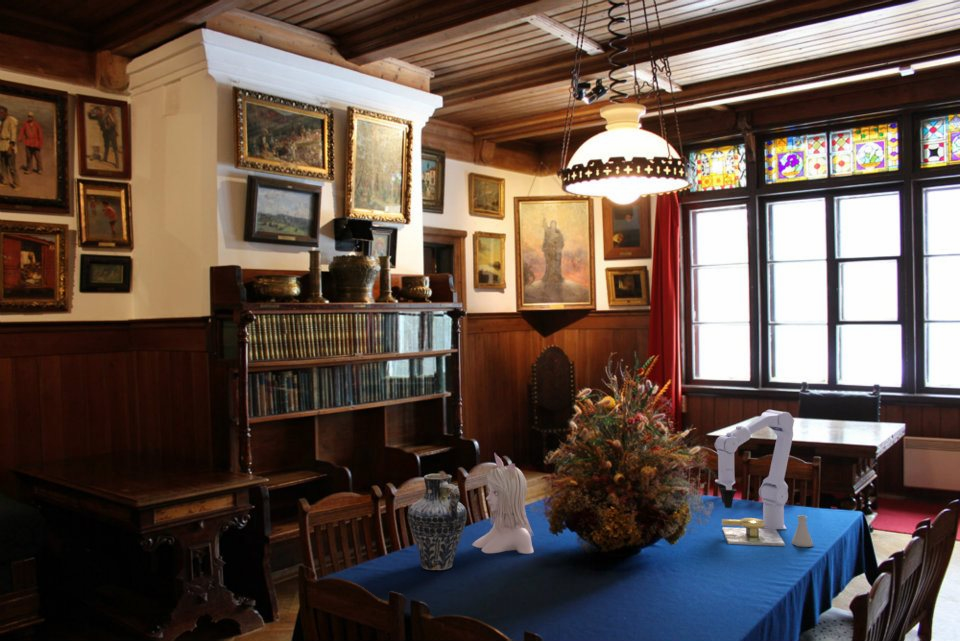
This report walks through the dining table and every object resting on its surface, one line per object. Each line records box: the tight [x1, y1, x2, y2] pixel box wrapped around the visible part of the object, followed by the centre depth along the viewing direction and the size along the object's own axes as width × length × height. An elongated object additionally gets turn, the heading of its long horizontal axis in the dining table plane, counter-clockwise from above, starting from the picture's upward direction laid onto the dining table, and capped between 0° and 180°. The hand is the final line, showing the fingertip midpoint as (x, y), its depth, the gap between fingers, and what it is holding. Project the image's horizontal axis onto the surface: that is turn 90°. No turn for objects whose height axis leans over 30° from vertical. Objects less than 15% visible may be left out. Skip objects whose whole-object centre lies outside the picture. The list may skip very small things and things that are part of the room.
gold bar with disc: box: [721, 517, 765, 537], centre depth 285 cm, size 15×8×5 cm, turn 79°
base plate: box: [722, 526, 786, 547], centre depth 284 cm, size 18×19×4 cm
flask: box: [791, 514, 814, 548], centre depth 275 cm, size 7×7×10 cm
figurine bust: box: [471, 452, 535, 555], centre depth 281 cm, size 26×20×32 cm
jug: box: [407, 472, 468, 571], centre depth 258 cm, size 21×19×30 cm
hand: (726, 505), depth 291 cm, fingers open, 7 cm apart
